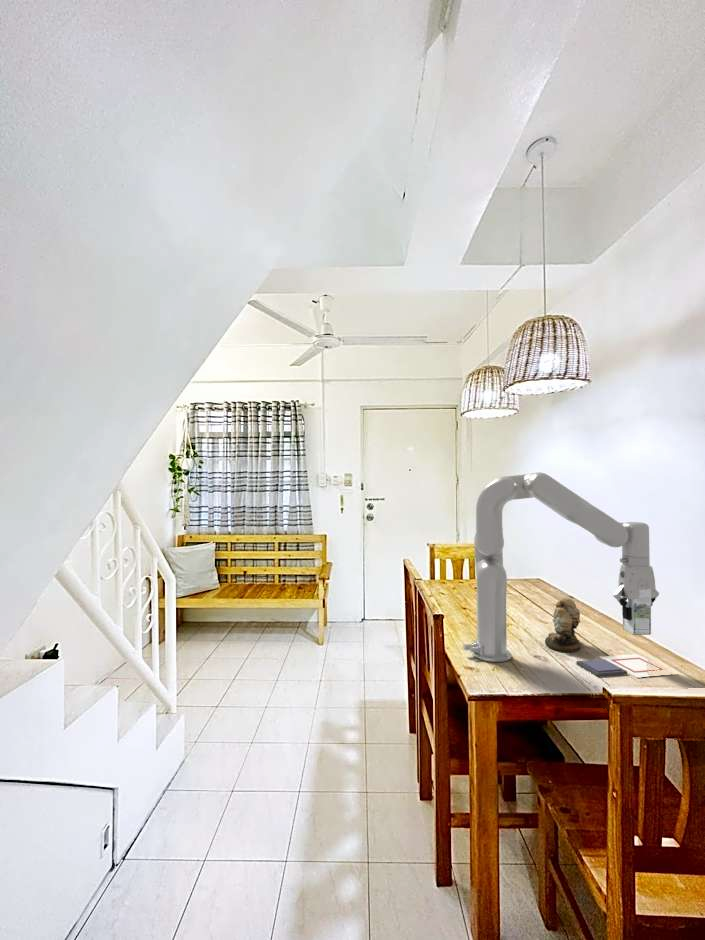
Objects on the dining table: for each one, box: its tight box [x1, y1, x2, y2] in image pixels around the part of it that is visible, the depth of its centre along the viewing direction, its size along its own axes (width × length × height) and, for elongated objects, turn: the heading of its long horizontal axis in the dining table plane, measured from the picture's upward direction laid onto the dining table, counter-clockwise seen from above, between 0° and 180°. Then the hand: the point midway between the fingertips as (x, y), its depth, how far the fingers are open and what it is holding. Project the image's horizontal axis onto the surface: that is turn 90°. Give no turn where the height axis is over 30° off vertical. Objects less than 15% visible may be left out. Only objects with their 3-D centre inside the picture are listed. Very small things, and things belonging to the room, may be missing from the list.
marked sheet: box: [598, 653, 663, 679], centre depth 156 cm, size 14×17×1 cm
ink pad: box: [575, 658, 628, 677], centre depth 153 cm, size 10×10×1 cm
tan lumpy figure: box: [544, 596, 582, 654], centre depth 176 cm, size 18×12×17 cm, turn 158°
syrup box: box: [622, 589, 652, 636], centre depth 156 cm, size 6×6×14 cm
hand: (636, 618), depth 156 cm, fingers closed on syrup box, 6 cm apart
